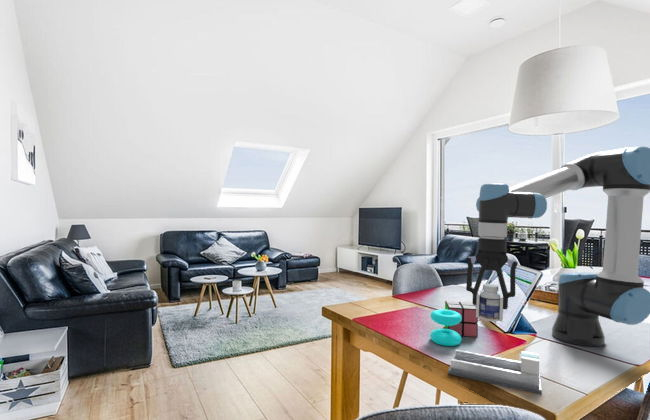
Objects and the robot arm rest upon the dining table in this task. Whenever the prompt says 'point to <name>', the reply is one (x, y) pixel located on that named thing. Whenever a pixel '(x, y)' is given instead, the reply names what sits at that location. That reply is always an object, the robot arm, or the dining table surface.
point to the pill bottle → (489, 303)
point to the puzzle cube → (464, 318)
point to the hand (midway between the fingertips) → (489, 318)
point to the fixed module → (530, 363)
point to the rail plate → (493, 371)
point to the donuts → (446, 335)
